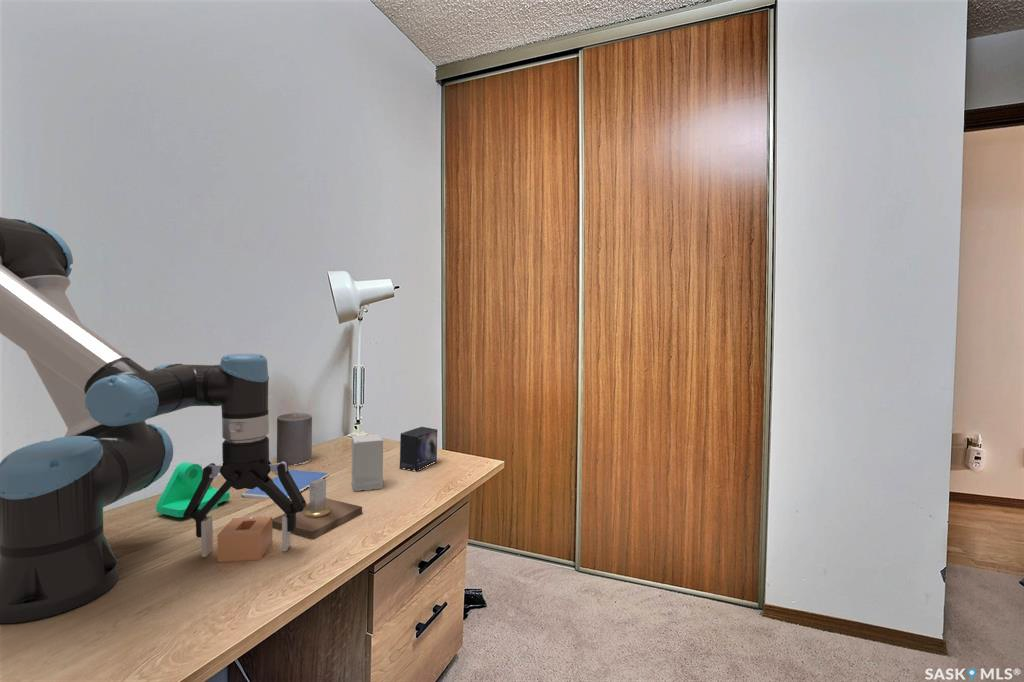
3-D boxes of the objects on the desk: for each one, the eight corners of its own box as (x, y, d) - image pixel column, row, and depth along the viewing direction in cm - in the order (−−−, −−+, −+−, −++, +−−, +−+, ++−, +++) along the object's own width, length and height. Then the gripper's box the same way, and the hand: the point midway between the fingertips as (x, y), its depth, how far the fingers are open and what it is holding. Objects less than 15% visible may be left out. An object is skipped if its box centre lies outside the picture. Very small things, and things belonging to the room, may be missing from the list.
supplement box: (383, 488, 122) (383, 440, 121) (352, 492, 119) (353, 442, 118) (380, 479, 129) (380, 433, 128) (351, 482, 126) (351, 435, 125)
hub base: (312, 539, 94) (312, 497, 94) (269, 527, 99) (269, 486, 98) (362, 513, 107) (362, 475, 106) (322, 503, 112) (322, 467, 111)
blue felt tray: (290, 473, 134) (290, 468, 134) (331, 476, 132) (331, 472, 132) (239, 498, 115) (239, 493, 115) (286, 503, 113) (286, 497, 113)
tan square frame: (260, 559, 86) (260, 531, 86) (217, 562, 85) (217, 533, 84) (272, 541, 93) (272, 515, 92) (233, 543, 91) (233, 517, 91)
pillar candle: (270, 461, 142) (270, 412, 141) (301, 454, 150) (301, 407, 149) (287, 468, 136) (287, 417, 135) (318, 460, 144) (319, 411, 143)
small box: (416, 472, 135) (417, 436, 135) (398, 469, 138) (398, 433, 137) (438, 462, 145) (438, 428, 144) (420, 459, 147) (421, 426, 147)
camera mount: (181, 523, 100) (180, 475, 100) (156, 517, 103) (155, 470, 102) (231, 502, 112) (231, 459, 111) (208, 497, 114) (207, 455, 114)
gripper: (159, 445, 82) (161, 566, 83) (313, 441, 86) (313, 555, 87) (181, 434, 89) (183, 545, 90) (321, 431, 94) (322, 536, 95)
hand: (247, 550), depth 89 cm, fingers open, 13 cm apart
